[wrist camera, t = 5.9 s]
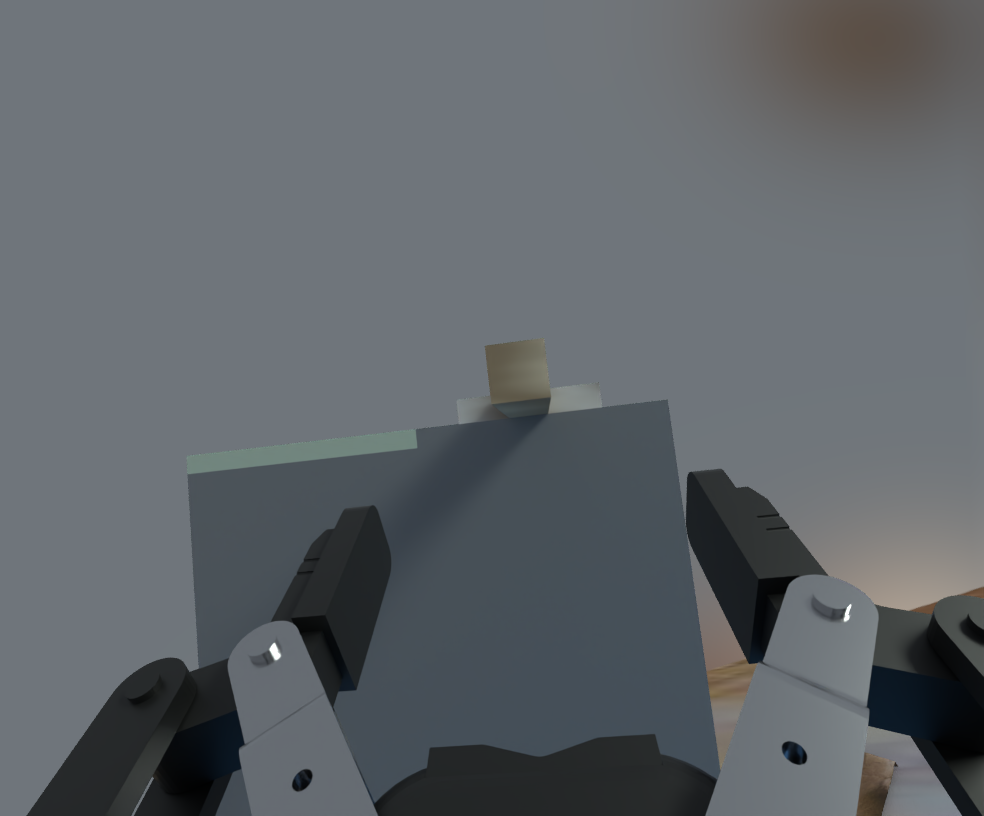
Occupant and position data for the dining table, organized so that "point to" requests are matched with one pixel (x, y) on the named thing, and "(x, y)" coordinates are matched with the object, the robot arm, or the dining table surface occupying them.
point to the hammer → (523, 386)
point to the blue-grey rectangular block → (478, 582)
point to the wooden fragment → (874, 785)
